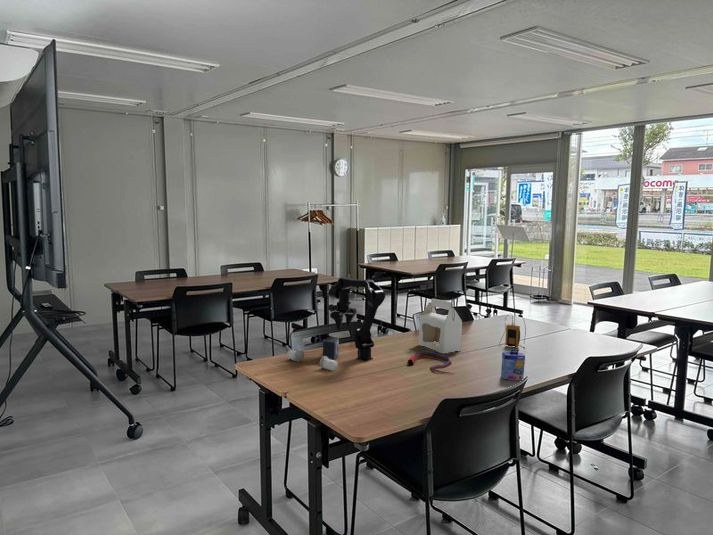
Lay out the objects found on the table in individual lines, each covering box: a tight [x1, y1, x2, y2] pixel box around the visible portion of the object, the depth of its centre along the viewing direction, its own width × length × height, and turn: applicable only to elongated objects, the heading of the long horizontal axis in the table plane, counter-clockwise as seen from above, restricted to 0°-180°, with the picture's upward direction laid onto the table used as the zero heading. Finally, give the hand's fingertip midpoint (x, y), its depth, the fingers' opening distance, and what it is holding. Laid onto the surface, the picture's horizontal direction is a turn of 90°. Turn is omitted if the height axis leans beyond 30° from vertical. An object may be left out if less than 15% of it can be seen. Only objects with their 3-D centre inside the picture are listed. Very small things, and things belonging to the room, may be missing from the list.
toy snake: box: [406, 350, 456, 375], centre depth 265 cm, size 31×22×5 cm
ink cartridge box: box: [500, 349, 526, 381], centre depth 246 cm, size 10×6×14 cm, turn 88°
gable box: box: [418, 297, 463, 354], centre depth 297 cm, size 22×13×28 cm, turn 33°
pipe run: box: [286, 349, 338, 372], centre depth 261 cm, size 30×6×6 cm, turn 52°
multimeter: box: [498, 313, 527, 348], centre depth 306 cm, size 15×10×20 cm
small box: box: [322, 336, 340, 361], centre depth 272 cm, size 11×6×10 cm, turn 168°
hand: (343, 328), depth 285 cm, fingers open, 9 cm apart
